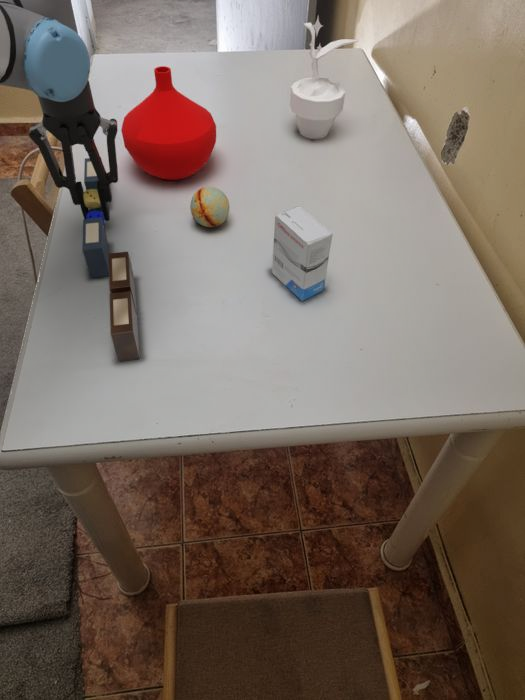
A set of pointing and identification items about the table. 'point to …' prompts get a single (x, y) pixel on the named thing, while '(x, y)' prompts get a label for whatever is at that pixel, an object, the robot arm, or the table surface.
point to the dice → (93, 204)
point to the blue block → (94, 233)
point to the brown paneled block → (123, 307)
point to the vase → (169, 132)
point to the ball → (209, 206)
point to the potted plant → (317, 93)
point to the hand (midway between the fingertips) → (97, 217)
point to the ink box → (300, 252)
